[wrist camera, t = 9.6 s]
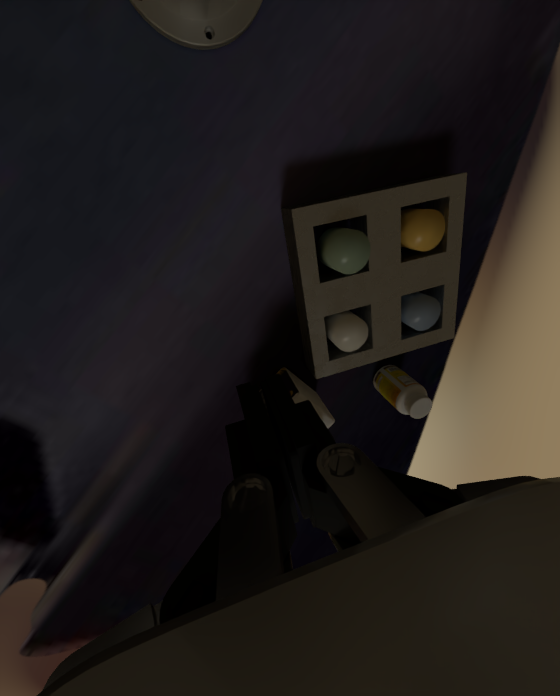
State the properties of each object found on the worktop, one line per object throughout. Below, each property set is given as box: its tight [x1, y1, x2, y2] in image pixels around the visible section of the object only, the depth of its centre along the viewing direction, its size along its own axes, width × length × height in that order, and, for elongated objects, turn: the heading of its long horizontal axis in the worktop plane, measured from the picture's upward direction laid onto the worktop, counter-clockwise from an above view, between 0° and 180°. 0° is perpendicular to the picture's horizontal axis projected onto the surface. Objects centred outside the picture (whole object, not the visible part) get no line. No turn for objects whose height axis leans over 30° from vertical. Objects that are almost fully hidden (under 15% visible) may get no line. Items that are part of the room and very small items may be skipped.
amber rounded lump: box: [401, 208, 445, 251], centre depth 37 cm, size 4×4×4 cm
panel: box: [281, 172, 467, 379], centre depth 39 cm, size 20×20×4 cm
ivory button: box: [324, 310, 368, 352], centre depth 40 cm, size 4×4×4 cm
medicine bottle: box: [259, 367, 335, 441], centre depth 40 cm, size 7×7×12 cm
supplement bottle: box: [373, 365, 432, 419], centre depth 45 cm, size 5×5×8 cm
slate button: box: [401, 292, 441, 331], centre depth 42 cm, size 4×4×4 cm
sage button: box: [317, 227, 371, 274], centre depth 35 cm, size 4×4×4 cm
